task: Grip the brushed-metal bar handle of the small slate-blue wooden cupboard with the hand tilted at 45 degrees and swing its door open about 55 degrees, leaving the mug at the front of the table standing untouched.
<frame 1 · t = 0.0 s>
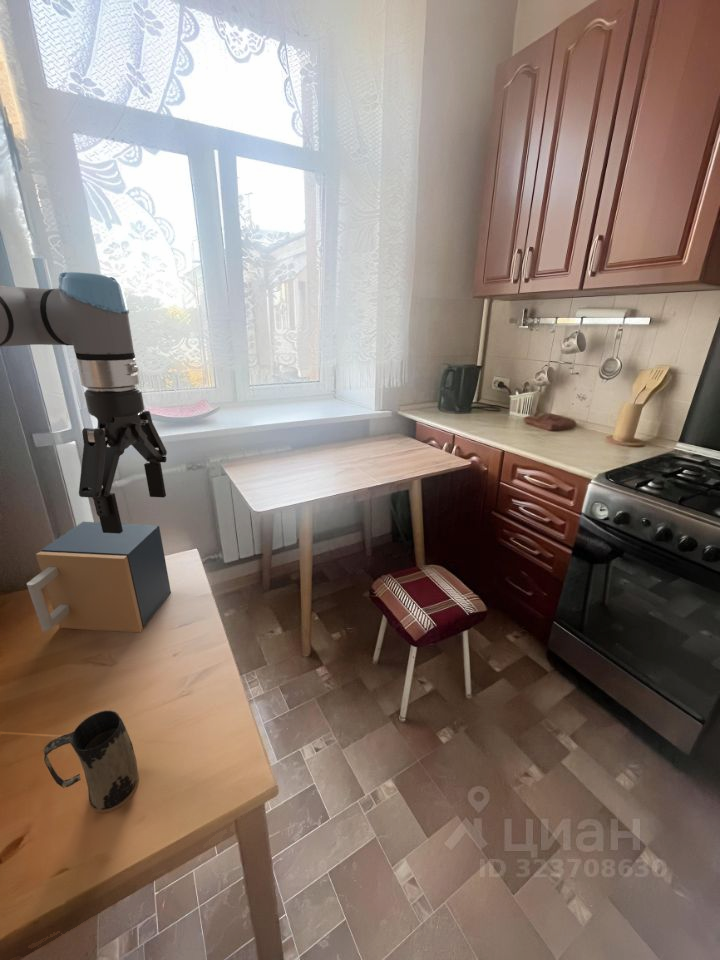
hand: (137, 512, 68), 25 cm above the table, tool pointing down, fingers open, 13 cm apart
cupboard door: (81, 602, 71), point 9 cm above the table, hinge at 0.0°
cupboard: (120, 607, 82), on the table
mug: (106, 794, 50), on the table
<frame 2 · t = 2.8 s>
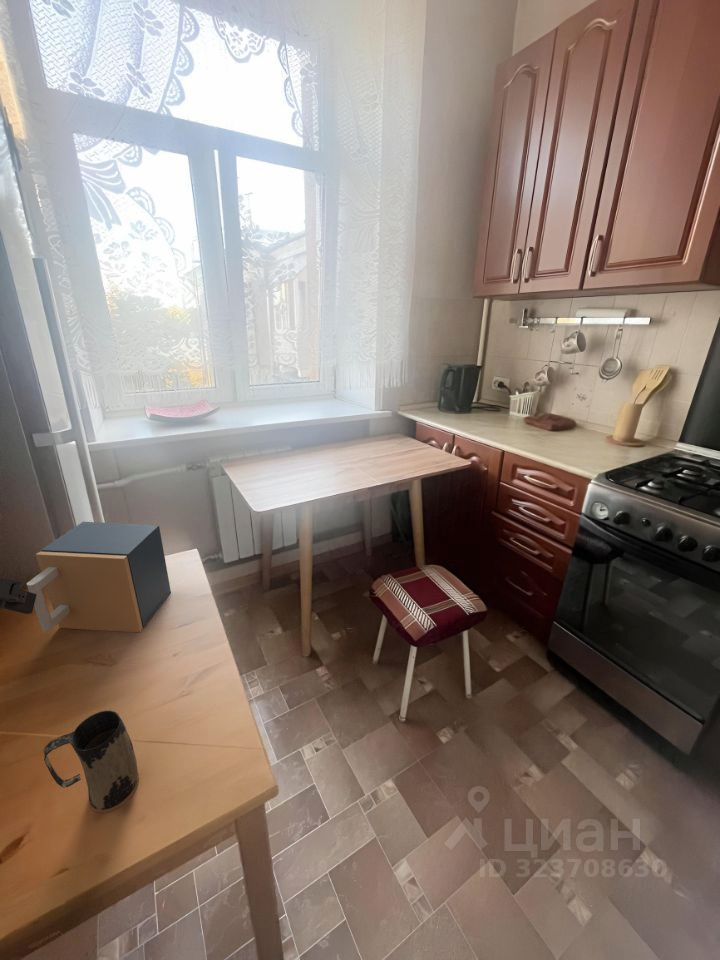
nothing on the table moved.
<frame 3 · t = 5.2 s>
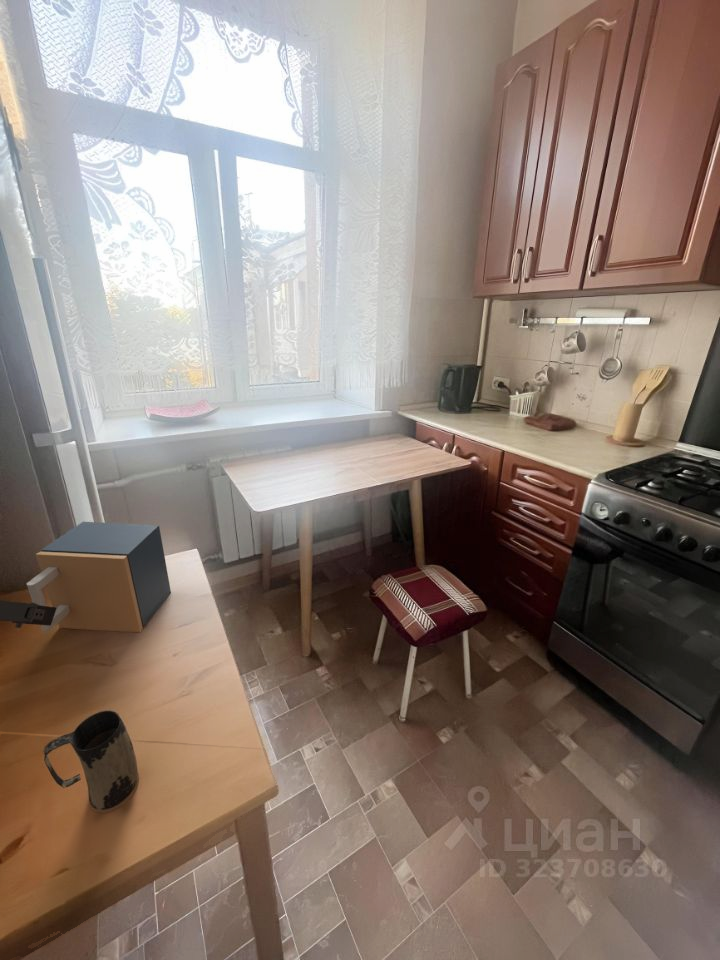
hand: (10, 614, 62), 12 cm above the table, tool tilted 45°, fingers open, 13 cm apart
nothing on the table moved.
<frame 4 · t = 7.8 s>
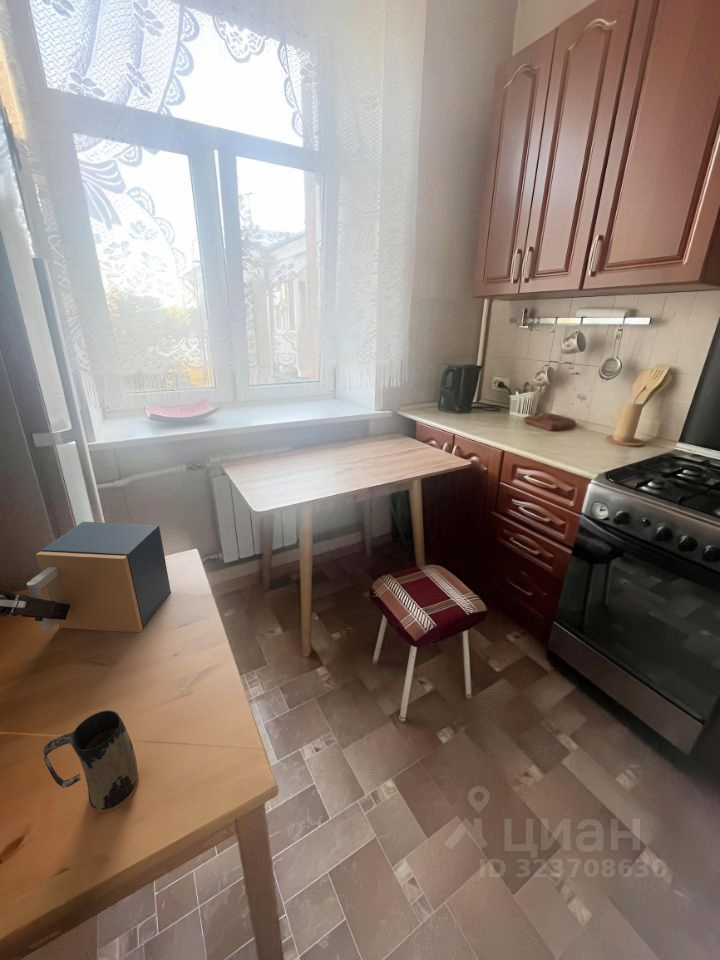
hand: (59, 611, 73), 5 cm above the table, tool tilted 45°, fingers closed on cupboard door, 2 cm apart
cupboard door: (81, 602, 71), point 9 cm above the table, hinge at 0.0°, touching gripper
everything else where it was.
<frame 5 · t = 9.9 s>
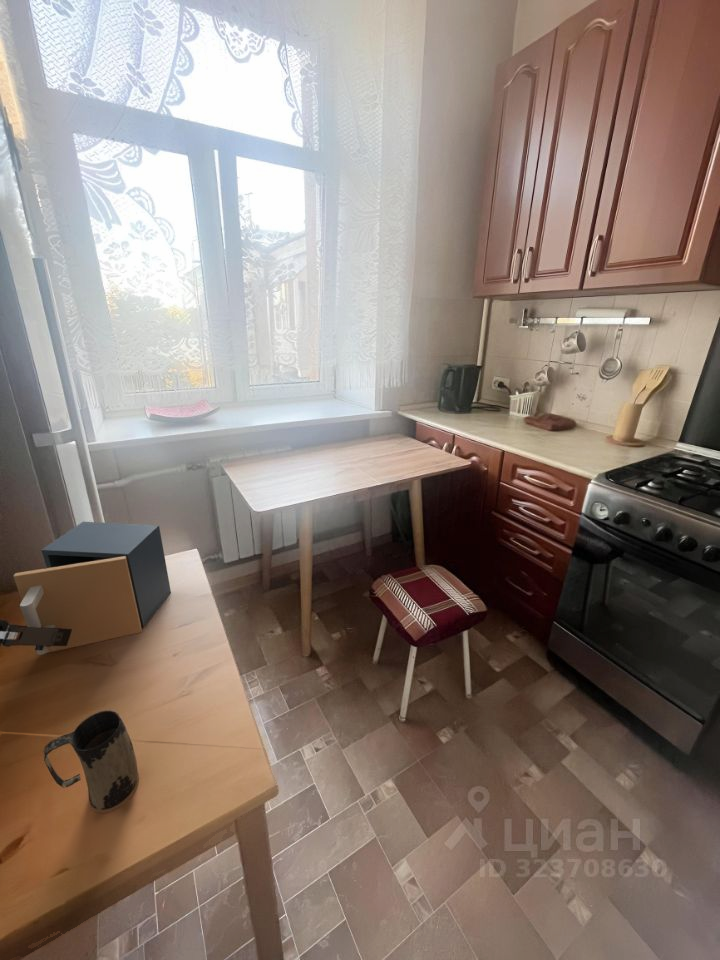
hand: (52, 636, 67), 5 cm above the table, tool tilted 45°, fingers open, 4 cm apart
cupboard door: (79, 614, 68), point 8 cm above the table, hinge at 23.9°, touching gripper
everything else where it was.
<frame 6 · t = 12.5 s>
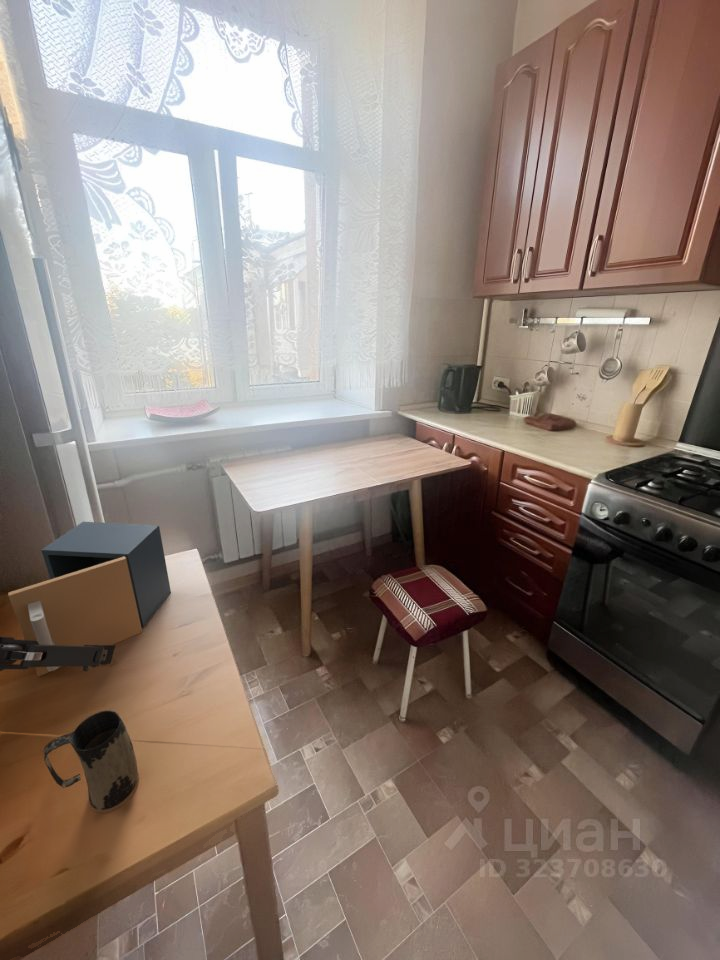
hand: (69, 652, 62), 7 cm above the table, tool tilted 45°, fingers open, 13 cm apart
cupboard door: (85, 622, 66), point 8 cm above the table, hinge at 44.4°, touching gripper
everything else where it was.
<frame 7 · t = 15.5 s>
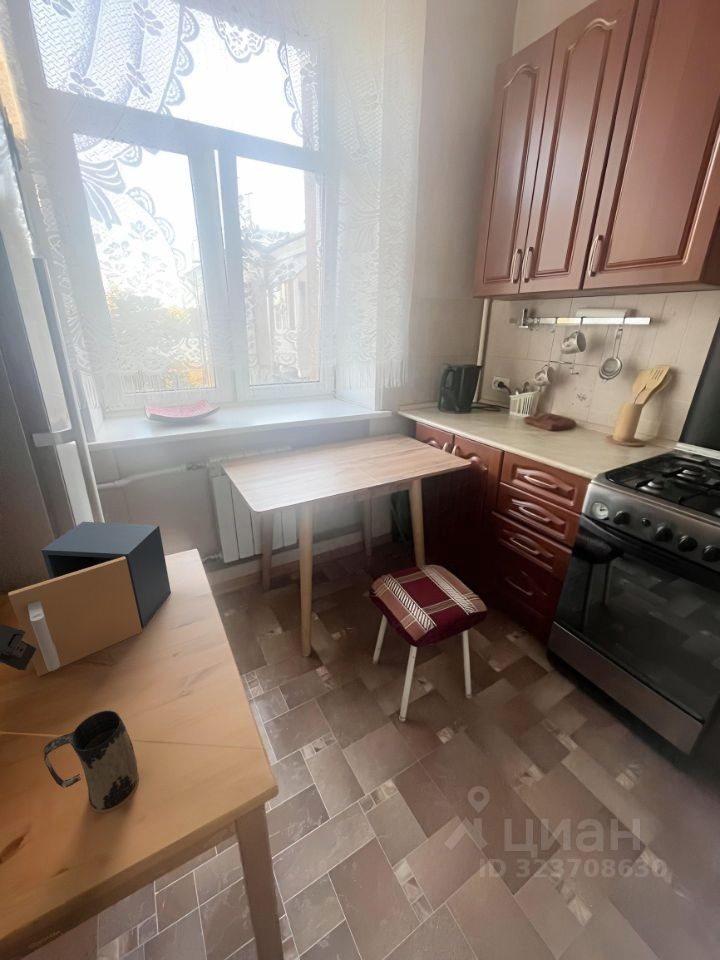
cupboard door: (85, 622, 66), point 8 cm above the table, hinge at 44.4°
everything else where it was.
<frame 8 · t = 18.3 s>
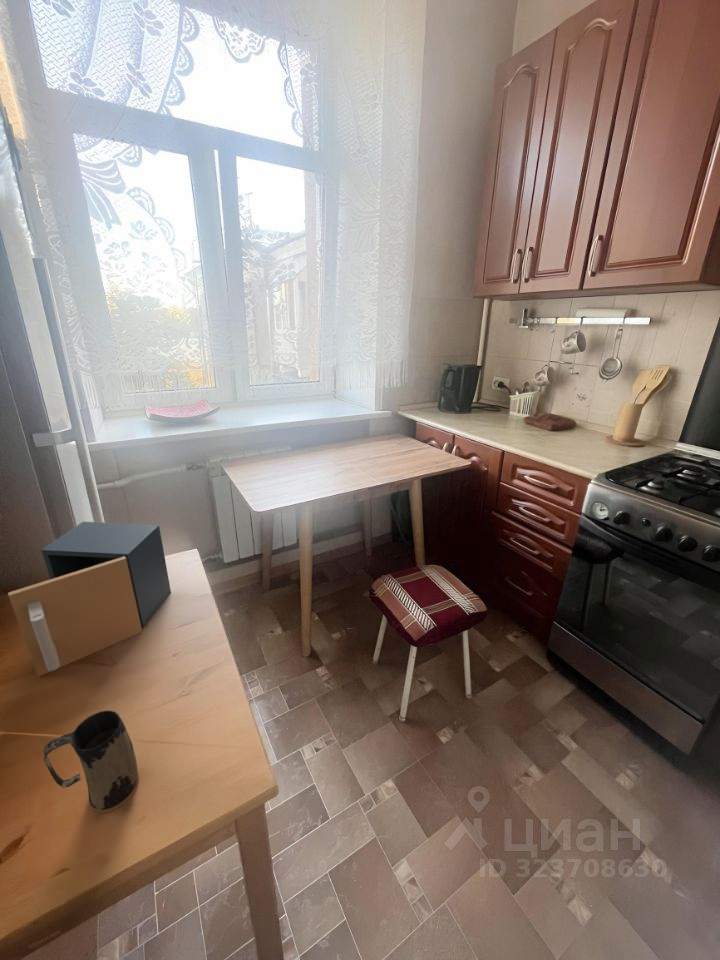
nothing on the table moved.
at the end: cupboard door at +44° (first picture: +0°); mug tilted 0°; mug moved 0.2 cm from its start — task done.
